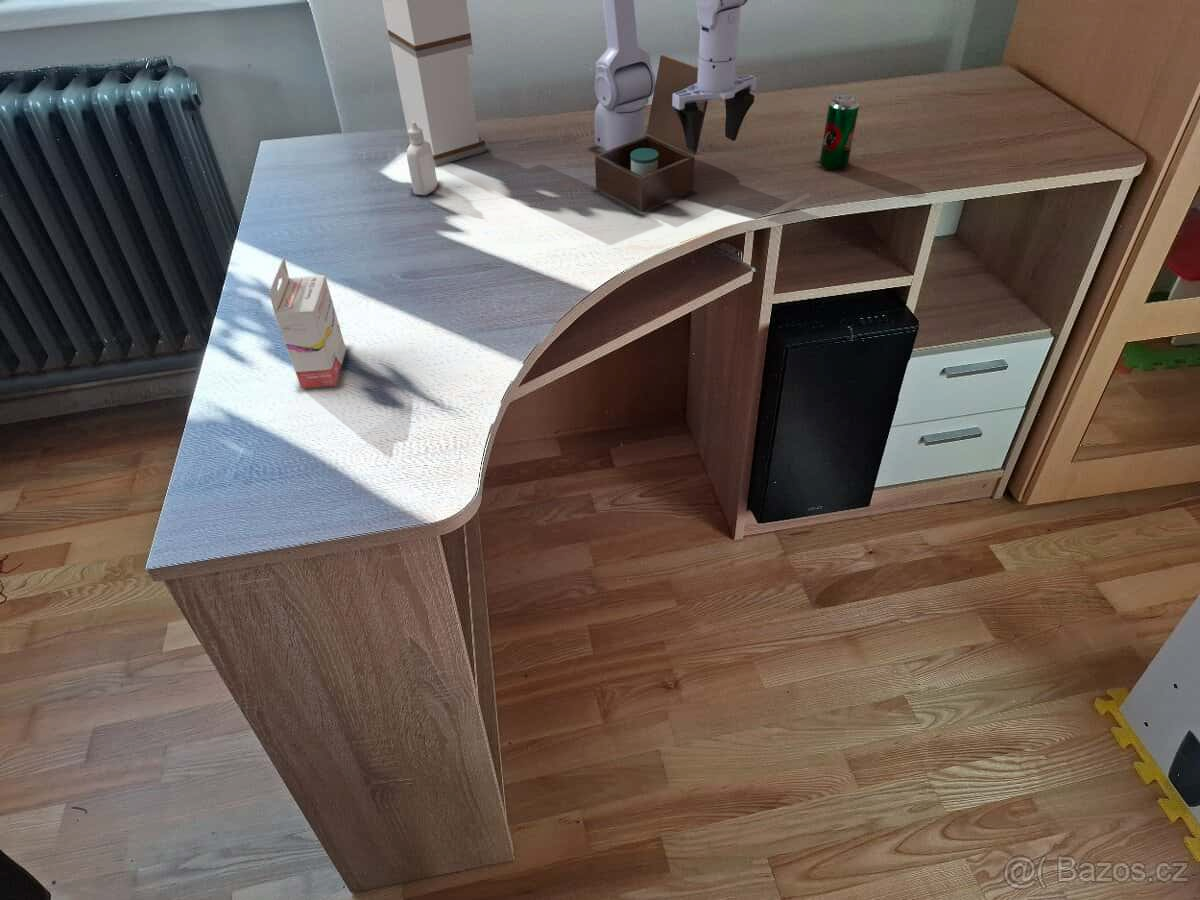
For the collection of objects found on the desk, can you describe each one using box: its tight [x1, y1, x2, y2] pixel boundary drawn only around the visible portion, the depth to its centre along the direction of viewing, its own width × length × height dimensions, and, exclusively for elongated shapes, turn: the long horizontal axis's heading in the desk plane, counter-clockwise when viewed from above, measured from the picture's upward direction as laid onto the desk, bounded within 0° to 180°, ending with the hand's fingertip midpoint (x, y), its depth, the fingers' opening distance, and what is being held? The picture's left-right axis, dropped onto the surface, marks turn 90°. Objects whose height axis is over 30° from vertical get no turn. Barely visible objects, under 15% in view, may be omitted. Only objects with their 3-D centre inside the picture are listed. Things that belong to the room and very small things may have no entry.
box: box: [594, 135, 695, 213], centre depth 140 cm, size 12×12×6 cm
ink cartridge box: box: [269, 258, 347, 389], centre depth 104 cm, size 9×5×15 cm, turn 5°
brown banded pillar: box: [381, 0, 487, 167], centre depth 146 cm, size 11×11×35 cm
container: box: [630, 148, 659, 176], centre depth 140 cm, size 5×5×6 cm
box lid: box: [645, 54, 709, 156], centre depth 137 cm, size 13×12×1 cm
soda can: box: [819, 93, 860, 171], centre depth 144 cm, size 5×5×12 cm
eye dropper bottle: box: [406, 121, 438, 196], centre depth 141 cm, size 4×6×12 cm
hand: (711, 143), depth 133 cm, fingers open, 7 cm apart
